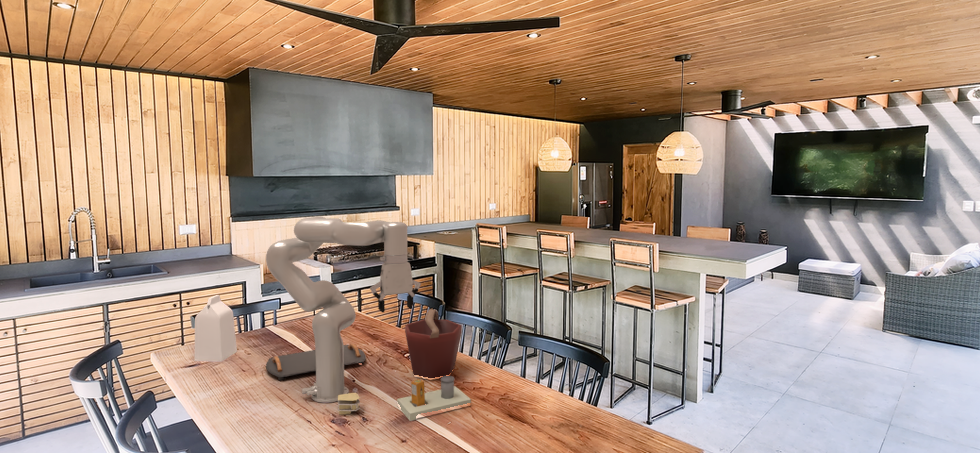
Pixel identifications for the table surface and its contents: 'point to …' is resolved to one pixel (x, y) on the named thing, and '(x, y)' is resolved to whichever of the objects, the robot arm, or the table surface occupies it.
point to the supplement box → (418, 393)
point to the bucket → (433, 345)
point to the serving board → (308, 361)
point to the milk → (214, 332)
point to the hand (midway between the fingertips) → (396, 309)
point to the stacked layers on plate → (348, 403)
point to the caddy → (435, 399)
